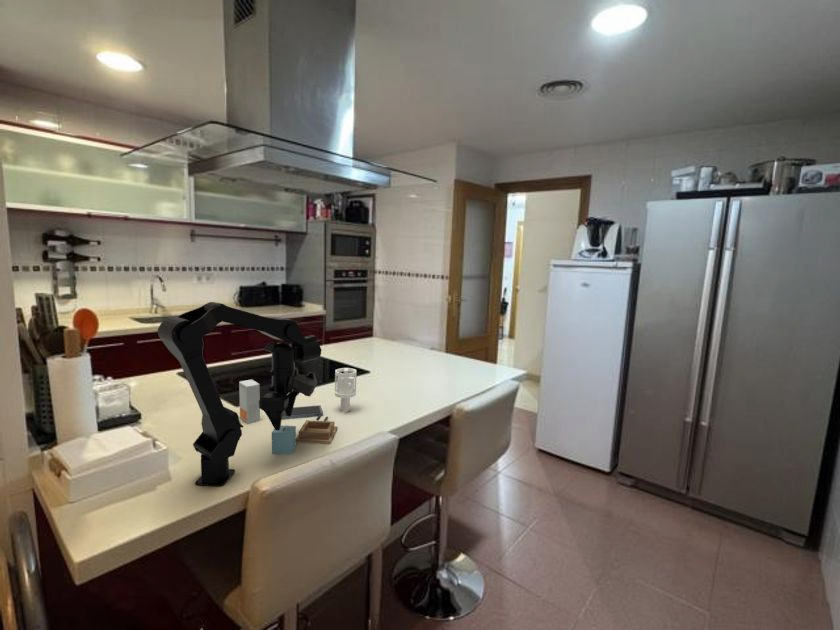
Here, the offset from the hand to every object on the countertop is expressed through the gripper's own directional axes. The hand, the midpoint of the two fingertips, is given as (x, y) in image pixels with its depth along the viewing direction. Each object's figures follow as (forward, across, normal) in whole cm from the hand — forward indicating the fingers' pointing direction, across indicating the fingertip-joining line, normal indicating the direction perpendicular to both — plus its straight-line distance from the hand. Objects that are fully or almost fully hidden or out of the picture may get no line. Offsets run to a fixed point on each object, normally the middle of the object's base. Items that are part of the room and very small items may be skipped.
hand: (283, 422), depth 109 cm
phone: (+8, +25, +3) cm, 26 cm away
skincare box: (+8, +19, +17) cm, 27 cm away
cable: (+8, +22, -5) cm, 23 cm away
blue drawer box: (+8, 0, 0) cm, 8 cm away
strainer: (+8, +30, -11) cm, 33 cm away
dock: (+8, +10, -7) cm, 14 cm away
